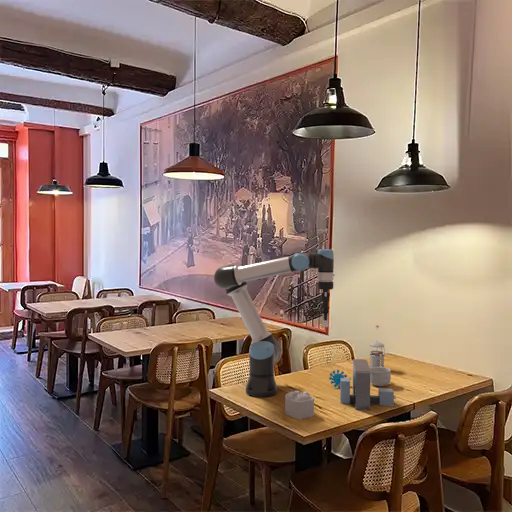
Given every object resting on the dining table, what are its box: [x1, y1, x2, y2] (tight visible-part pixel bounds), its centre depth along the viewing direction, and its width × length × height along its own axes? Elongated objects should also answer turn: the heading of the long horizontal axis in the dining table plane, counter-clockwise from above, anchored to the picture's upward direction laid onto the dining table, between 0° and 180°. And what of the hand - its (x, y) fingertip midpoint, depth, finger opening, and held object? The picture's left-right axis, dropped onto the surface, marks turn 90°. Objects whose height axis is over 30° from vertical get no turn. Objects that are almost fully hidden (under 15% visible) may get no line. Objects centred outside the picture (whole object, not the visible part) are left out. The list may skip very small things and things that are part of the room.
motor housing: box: [352, 358, 371, 411], centre depth 222 cm, size 6×20×17 cm, turn 172°
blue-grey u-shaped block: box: [339, 377, 397, 407], centre depth 221 cm, size 24×5×10 cm, turn 83°
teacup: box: [370, 366, 392, 388], centre depth 250 cm, size 14×11×8 cm
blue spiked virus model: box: [328, 369, 352, 389], centre depth 247 cm, size 11×6×10 cm
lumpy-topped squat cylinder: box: [284, 390, 315, 420], centre depth 208 cm, size 10×13×9 cm
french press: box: [369, 324, 386, 368], centre depth 279 cm, size 10×12×25 cm
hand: (325, 324), depth 241 cm, fingers open, 13 cm apart
